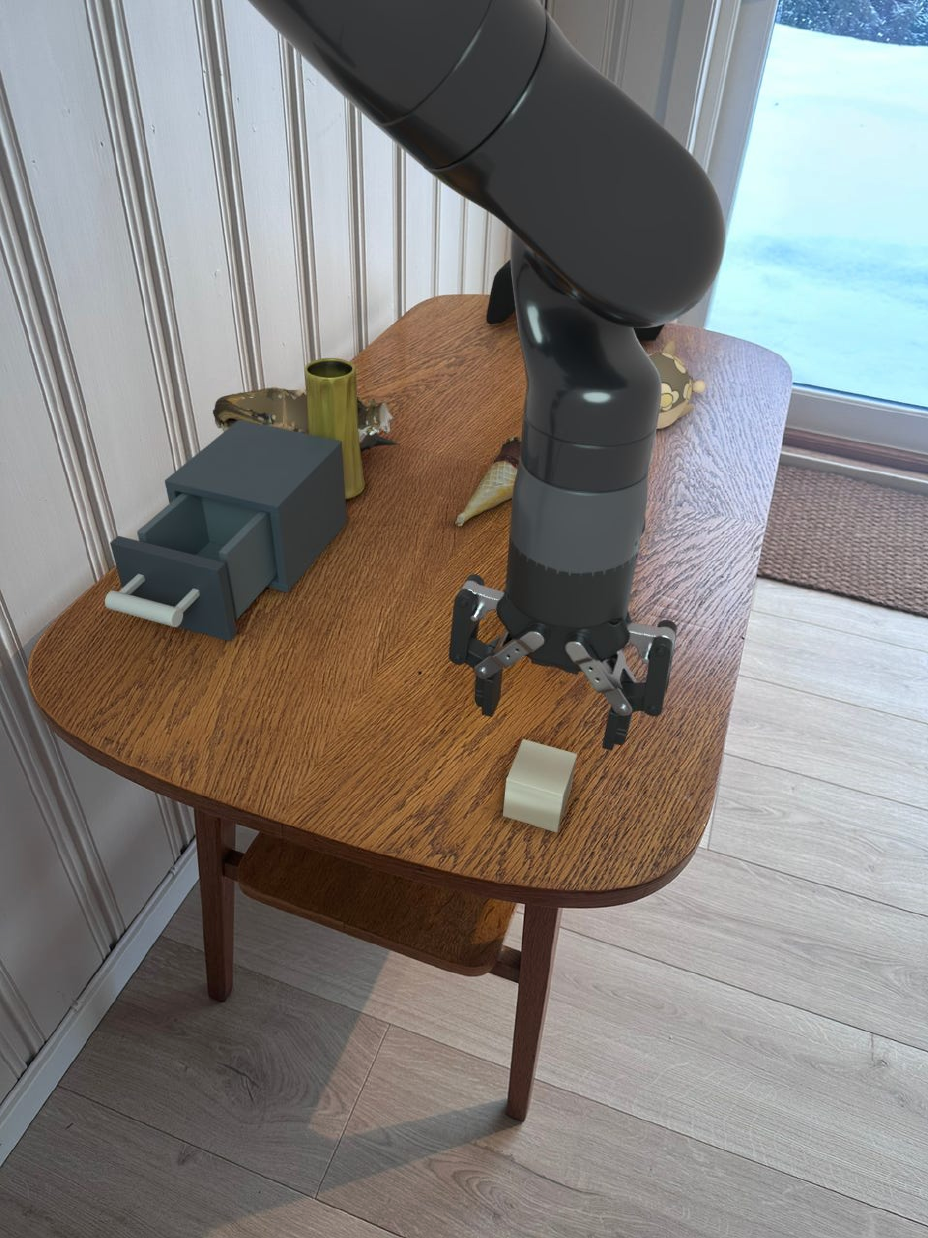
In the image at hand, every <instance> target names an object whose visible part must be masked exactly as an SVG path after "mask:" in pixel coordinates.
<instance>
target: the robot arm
mask: <svg viewBox="0 0 928 1238" xmlns="http://www.w3.org/2000/svg"><path fill="white" fill-rule="evenodd" d="M247 2H249V4H250V5H251V6H253V8H254V9H255V10H256V11H257V12H258V13H259V14H260V15H261V16H262V17H263V18H264V19H265V21H267V22H268V23H269V24H270V25H271V26H272V27H273V28H274V29H275V30H276V32H277V33H279V35H281V36H282V37H283V39H284V40H285V41H286V42H287V43H289V45H290V46H291V47H292V48H293V49H294V50H295V51H296V52H297V53H298V54H299V55H300V56H301V57H302V58H303V59H304V60H305V61H306V62H307V63H308V64H309V65H310V66H311V67H312V68H313V69H315V70H316V71H317V72H318V74H320V75H321V76H322V77H323V78H324V80H326V81H327V82H328V83H329V84H330V85H331V86H332V87H333V88H334V89H335V90H336V91H337V92H339V94H341V95H342V96H343V98H345V99H346V100H347V101H348V102H349V103H350V104H351V105H352V106H353V107H354V108H356V109H357V110H358V111H359V112H360V113H361V114H362V115H364V117H365V118H367V119H368V120H369V121H370V122H371V123H372V124H373V125H375V126H376V127H377V128H378V129H379V130H380V131H381V132H382V133H384V134H385V135H386V136H387V137H388V138H389V139H390V140H391V141H392V142H394V143H395V144H396V145H397V146H398V147H399V148H400V149H402V151H404V152H405V153H406V154H407V155H408V156H409V157H411V159H413V160H414V161H415V162H416V163H418V164H419V165H420V166H421V167H423V169H424V170H425V171H426V172H428V173H429V174H430V175H432V176H433V177H434V178H435V179H437V180H438V181H439V182H441V183H442V184H444V185H445V186H446V187H447V188H450V189H451V190H452V191H454V192H456V193H457V194H458V195H460V196H461V197H462V198H464V199H466V200H467V201H470V202H471V203H473V204H475V205H477V206H478V207H480V208H481V209H483V210H485V211H486V212H488V213H490V215H493V216H494V217H495V218H497V219H498V220H499V221H500V222H502V223H503V224H504V225H505V226H506V227H507V228H508V229H510V241H509V255H510V259H509V260H511V273H512V282H513V291H514V300H515V308H516V311H515V315H516V323H517V324H516V325H517V333H518V339H519V346H520V350H521V355H522V360H523V366H524V367H523V368H524V374H525V379H526V380H525V382H526V386H525V394H524V400H523V401H524V402H523V409H522V410H523V412H522V423H521V434H520V435H521V448H520V458H519V465H518V469H517V474H516V478H515V482H514V487H513V494H512V498H511V509H510V520H509V521H510V522H509V533H508V534H509V535H508V536H509V537H508V549H507V563H506V574H505V575H506V576H505V589H504V591H502V590H499V589H495V588H491V587H488V586H485V580H484V579H483V577H482V576H481V575H479V574H476V573H472V574H469V575H468V576H467V578H466V579H465V581H464V582H463V584H462V586H461V587H460V589H459V591H458V592H457V594H456V596H455V598H454V600H453V608H452V619H451V630H450V639H449V650H448V659H449V661H450V662H451V663H453V664H454V665H457V666H463V665H467V666H468V667H470V668H471V669H472V671H473V673H474V674H475V679H474V681H475V682H474V702H475V705H476V707H480V708H481V716H484V717H485V716H486V717H489V718H493V716H494V714H495V712H496V709H497V708H498V705H499V704H500V700H501V695H502V684H503V669H504V670H507V669H508V668H510V667H511V666H513V665H514V664H515V663H517V662H518V661H520V660H521V659H523V658H524V657H526V658H528V659H529V660H530V664H533V665H538V666H541V667H554V668H556V669H559V670H561V671H564V672H565V673H568V674H573V675H576V676H578V675H579V674H580V672H581V673H583V675H584V676H585V677H586V679H587V680H588V682H589V683H590V685H591V686H592V688H593V690H594V691H595V692H596V694H603V696H604V697H605V699H606V701H607V703H608V704H609V705H610V708H609V710H608V714H607V718H606V719H607V720H606V724H605V731H604V736H603V742H602V745H601V746H602V747H601V748H602V749H604V750H608V751H611V752H612V751H613V750H614V746H615V745H618V746H622V745H624V743H626V740H627V737H628V733H629V730H630V726H631V721H632V717H633V714H634V713H636V712H644V714H645V715H647V716H649V717H658V716H660V715H661V714H662V712H663V708H664V703H665V697H666V695H667V692H668V689H669V684H670V678H671V671H672V664H673V658H674V652H675V645H676V639H677V633H678V626H677V624H676V623H675V622H674V621H673V620H669V619H663V620H660V621H658V623H657V626H653V625H648V624H642V623H636V622H633V619H632V617H631V615H630V612H629V603H630V598H631V593H632V587H633V583H634V577H635V573H636V566H637V561H638V556H639V550H640V544H641V540H642V536H643V535H644V534H645V530H646V512H647V505H648V497H649V496H648V495H649V493H648V492H649V490H648V489H649V474H650V473H649V472H650V467H651V462H652V456H653V450H654V445H655V439H656V436H657V435H656V434H657V423H658V418H659V411H660V404H661V394H662V384H661V378H660V375H659V372H658V370H657V368H656V367H655V365H654V363H653V362H652V360H651V359H650V357H649V356H648V355H649V354H648V352H646V350H645V349H644V347H643V346H642V345H641V343H640V341H638V339H637V337H636V335H635V332H634V329H633V328H648V327H655V326H659V325H663V324H665V325H666V324H669V323H670V322H673V321H675V320H677V319H679V318H681V317H682V316H684V315H686V314H687V313H689V312H690V311H691V310H693V309H694V308H695V307H696V306H697V305H698V304H699V303H701V301H702V300H703V298H704V297H705V296H707V294H708V293H709V291H710V290H711V288H712V286H713V284H714V283H715V281H716V279H717V277H718V274H719V272H720V269H721V267H722V263H723V259H724V255H725V249H726V237H727V236H726V235H727V233H726V232H727V231H726V220H725V214H724V210H723V205H722V202H721V199H720V196H719V194H718V191H717V189H716V187H715V185H714V183H713V181H712V180H711V178H710V177H709V174H708V173H707V172H706V170H705V169H704V168H703V167H702V165H701V164H700V163H699V161H698V160H697V159H696V158H695V156H694V155H693V154H692V153H691V152H690V151H689V150H688V149H687V148H686V147H685V146H684V145H683V144H682V143H681V141H679V140H678V138H676V137H675V136H674V135H673V134H672V133H671V132H670V131H669V130H668V129H667V128H665V126H664V125H662V124H661V123H660V122H659V121H657V119H655V118H654V117H653V116H652V115H651V114H650V113H648V111H647V110H645V109H644V108H643V107H642V106H641V105H640V104H639V103H637V102H636V101H635V99H633V97H631V96H629V94H627V92H626V91H624V90H623V89H622V88H621V87H619V86H618V85H617V84H616V83H614V81H612V80H610V79H609V78H608V76H606V75H604V74H603V73H602V72H600V71H599V70H598V69H597V68H596V67H595V66H594V65H592V63H590V62H589V60H587V59H586V58H585V57H584V56H583V55H582V54H581V53H580V52H579V51H578V50H577V49H576V48H575V46H574V45H572V42H570V41H569V40H568V39H567V37H566V36H565V34H564V33H563V31H562V30H561V28H560V27H559V25H558V24H557V22H556V21H555V20H554V18H553V17H552V16H551V14H550V13H549V12H548V10H547V9H546V8H545V7H544V6H543V5H542V3H541V2H540V1H539V0H247ZM491 611H495V613H496V616H497V618H498V619H499V621H500V622H501V624H502V625H503V627H504V630H502V632H501V633H500V634H498V635H497V636H496V637H494V638H493V639H491V640H490V641H489V642H488V643H485V642H483V641H482V640H480V639H479V638H478V637H479V628H480V621H481V620H483V619H485V618H486V617H487V615H488V613H489V612H491ZM628 644H631V645H633V646H634V647H635V648H636V651H637V655H638V657H639V658H640V659H641V660H640V661H641V663H642V664H644V665H648V666H647V674H646V680H645V681H644V682H643V681H640V682H639V681H638V680H637V678H636V676H635V675H634V673H633V672H632V670H631V669H630V667H629V666H628V665H627V660H626V659H627V658H626V655H625V653H624V651H623V649H624V648H625V647H626V646H627V645H628Z"/></svg>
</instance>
